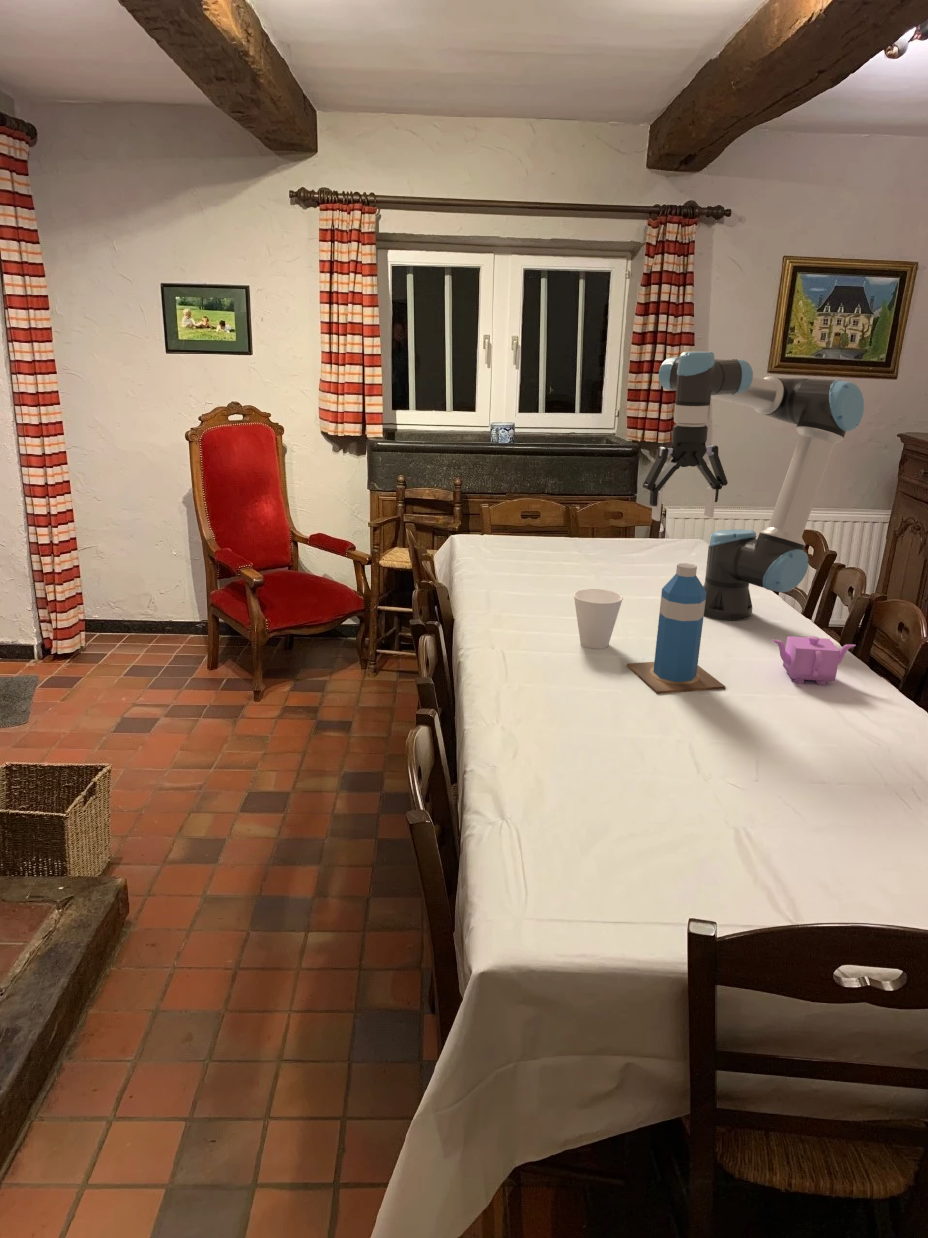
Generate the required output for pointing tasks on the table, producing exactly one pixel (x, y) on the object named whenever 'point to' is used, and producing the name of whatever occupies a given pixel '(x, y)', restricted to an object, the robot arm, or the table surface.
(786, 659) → the teapot
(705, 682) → the plate
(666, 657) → the water bottle
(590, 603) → the cup
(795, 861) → the table surface
